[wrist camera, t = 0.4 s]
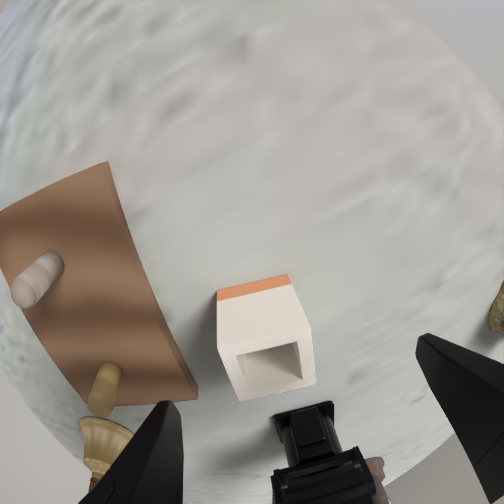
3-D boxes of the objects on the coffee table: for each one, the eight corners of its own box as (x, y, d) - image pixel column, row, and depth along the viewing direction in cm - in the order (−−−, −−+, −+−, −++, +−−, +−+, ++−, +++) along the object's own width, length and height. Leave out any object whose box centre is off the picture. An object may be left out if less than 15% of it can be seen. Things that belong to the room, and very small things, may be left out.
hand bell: (89, 442, 28) (69, 536, 13) (70, 410, 25) (38, 520, 10) (144, 453, 29) (136, 555, 14) (133, 423, 26) (117, 547, 11)
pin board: (198, 386, 24) (196, 445, 18) (92, 395, 24) (76, 444, 18) (107, 161, 16) (56, 178, 10) (-7, 215, 16) (-58, 246, 10)
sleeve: (295, 328, 22) (316, 383, 17) (234, 342, 22) (239, 401, 17) (286, 274, 20) (310, 326, 15) (216, 290, 20) (217, 348, 15)
